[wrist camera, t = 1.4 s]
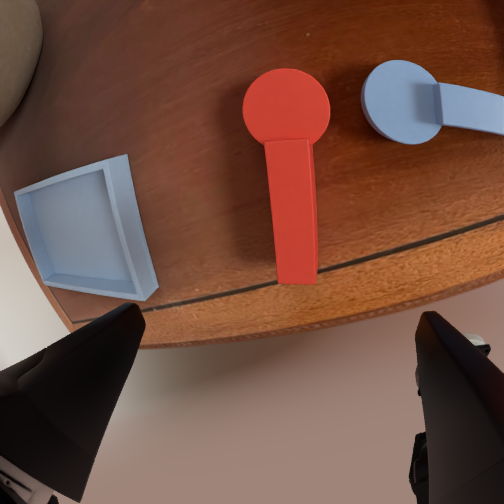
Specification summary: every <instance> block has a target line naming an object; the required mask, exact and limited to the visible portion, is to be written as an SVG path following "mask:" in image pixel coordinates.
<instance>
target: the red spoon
mask: <svg viewBox="0 0 504 504" xmlns="http://www.w3.org/2000/svg"><path fill="white" fill-rule="evenodd" d="M242 111H243V118H244V122H245V125H246V127H247V129H248V131H249V132H250V134H251V135H252V136H253V137H254V138H255V139H256V140H257V141H258V142H259V143H261V144H262V145H264V148H265V157H266V166H267V175H268V184H269V194H270V204H271V213H272V224H273V234H274V245H275V256H276V267H277V278H278V283H279V284H315V283H316V277H317V269H318V226H317V203H316V185H315V170H314V156H313V144H314V143H315V142H316V141H317V140H318V139H319V138H320V137H321V136H322V135H323V134H324V132H325V130H326V129H327V126H328V124H329V120H330V103H329V99H328V96H327V94H326V92H325V90H324V89H323V87H322V86H321V85H320V84H319V82H318V81H317V80H315V79H314V78H313V77H311V76H310V75H308V74H306V73H304V72H302V71H299V70H295V69H288V68H283V69H275V70H272V71H269V72H267V73H264V74H263V75H261V76H259V77H258V78H257V79H256V80H255V81H254V82H253V83H252V84H251V85H250V87H249V88H248V90H247V92H246V94H245V97H244V100H243V107H242Z"/></svg>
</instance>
